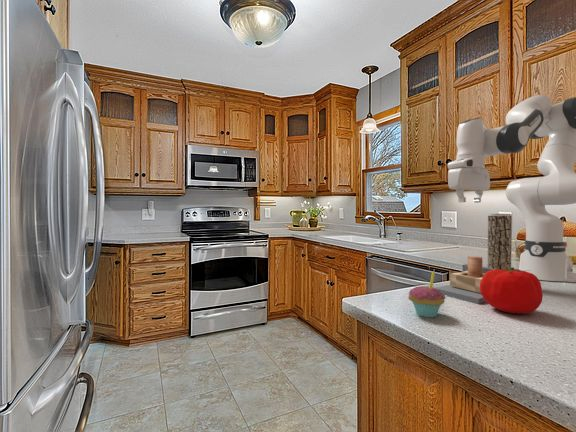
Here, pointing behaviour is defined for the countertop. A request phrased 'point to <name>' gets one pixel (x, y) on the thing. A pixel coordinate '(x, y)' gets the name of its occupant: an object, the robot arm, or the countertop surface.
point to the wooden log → (499, 241)
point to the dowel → (475, 266)
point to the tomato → (511, 290)
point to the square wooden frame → (465, 281)
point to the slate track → (463, 293)
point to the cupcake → (426, 299)
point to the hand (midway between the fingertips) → (469, 202)
